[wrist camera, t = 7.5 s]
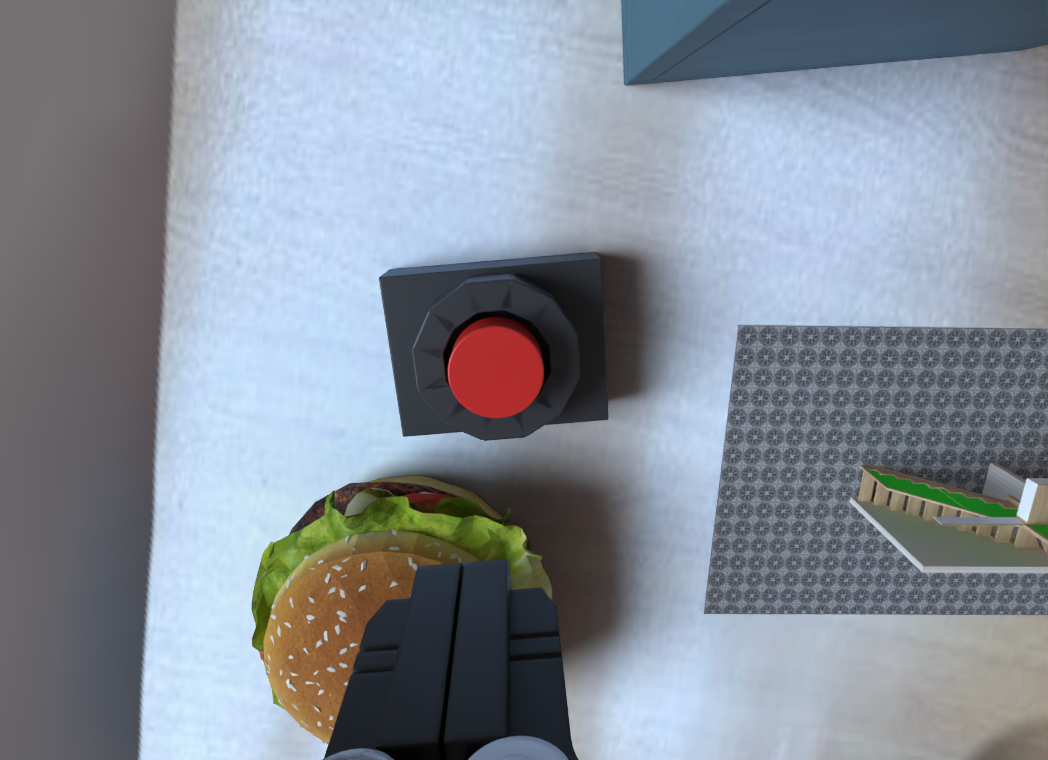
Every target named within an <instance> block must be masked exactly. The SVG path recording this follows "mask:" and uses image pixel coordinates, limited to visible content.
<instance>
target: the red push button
mask: <svg viewBox="0 0 1048 760" xmlns="http://www.w3.org/2000/svg"><path fill="white" fill-rule="evenodd" d="M448 380H449V384H450V387H451V390H452V392H453V394H454V395H455V397H456V398H457V400H458V401H459V402H460V403H461V404H462V405H463V406H464V407H465V408H467V409H468V410H470V411H471V412H473V413H475V414H478V415H480V416H484V417H488V418H504V417H509V416H513V415H515V414H517V413H519V412H521V411H523V410H524V409H526V408H527V407H528V406H529V405H530V404H531V403H532V402H533V401H534V400H535V399H536V397H537V396H538V394H539V392H540V390H541V388H542V384H543V380H544V365H543V358H542V352H541V348H540V345H539V343H538V341H537V339H536V338H535V336H534V335H533V333H532V332H531V331H530V330H529V329H528V328H527V327H525V326H524V325H523V324H521V323H519V322H517V321H515V320H513V319H510V318H506V317H488V318H484V319H480V320H478V321H476V322H474V323H472V324H471V325H469V326H468V327H467V328H466V329H465V330H464V331H463V332H462V333H461V334H460V336H459V337H458V339H457V340H456V342H455V345H454V348H453V350H452V353H451V356H450V359H449V363H448Z"/></svg>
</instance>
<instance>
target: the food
mask: <svg viewBox="0 0 1048 760" xmlns="http://www.w3.org/2000/svg"><path fill="white" fill-rule="evenodd" d="M510 513H511V509H508V510H507V512H506V514H505V517H504V518H503V517H502V516H501V515H500V514H498V513H497V512H496V511H495V510H494V509H493V508H492V507H490V506H489V505H488V504H487V503H486V502H485V501H483V500H482V499H481V498H480V497H478V496H477V495H476V494H475V493H473V492H472V491H469V490H466V489H463V488H460V487H457V486H454V485H451V484H448V483H444V482H441V481H438V480H434V479H431V478H428V477H425V476H403V477H390V478H379V479H376V480H374V481H371V482H367V483H350V484H348V485H346V486H344V487H342V488H340V489H339V490H337V491H335V492H334V491H333V492H332V493H331V494H329V495H327V496H326V497H324V498H322V499H320V500H318V501H316V502H315V503H314V504H313V505H312V507H311V508H310V509H309V510H308V511H307V512H306V513H305V515H304V516H303V517H302V518H301V519H300V520H299V521H298V523H297V524H296V525H295V526H294V527H293V528H292V530H291V532H290V534H289V535H288V536H287V537H285V538H283V539H281V540H279V541H277V542H275V543H274V542H271V543H270V544H269V546H268V547H267V549H266V550H265V551H264V553H263V556H262V559H261V563H260V567H259V570H258V574H257V578H256V582H255V586H254V591H253V599H252V613H253V616H254V620H255V623H256V629H255V632H254V635H253V637H252V646H253V647H254V648H256V649H257V650H258V651H259V652H260V656H261V659H262V660H263V661H264V665H265V669H266V673H267V675H268V678H269V682H270V685H271V688H272V693H273V700H274V701H273V703H274V704H276V705H279V706H280V707H282V708H283V709H285V710H286V711H287V712H288V713H289V714H290V715H291V717H292V718H293V719H295V720H296V721H297V722H298V723H299V724H300V725H301V726H302V727H303V728H304V729H306V730H307V731H309V732H310V733H312V734H313V736H314V735H315V736H316V737H318V738H319V739H321V740H322V741H324V742H325V743H327V744H329V741H330V738H331V735H332V732H333V729H334V726H335V722H336V719H337V716H338V713H339V710H340V707H341V703H342V700H343V697H344V694H345V691H346V688H347V685H348V681H349V678H350V675H351V674H352V673H353V670H352V669H353V666H354V662H355V659H356V656H357V653H359V647H360V643H361V640H362V637H363V634H364V631H365V628H366V625H367V622H368V621H369V620H370V619H371V618H372V616H373V615H374V614H375V613H376V612H377V611H378V609H379V608H380V607H381V606H382V605H383V604H384V603H385V601H386V600H394V599H406V598H410V596H411V592H412V587H413V583H414V579H415V574H416V570H417V568H418V566H426V565H438V564H451V563H462V564H463V566H464V564H465V562H473V561H485V560H498V559H508V561H509V567H510V577H511V587H512V590H515V589H527V588H540V587H542V589H543V590H544V591H545V593H546V594H547V595H548V596H549V598H550V599H551V600H552V585H551V583H550V580H549V578H548V576H547V574H546V572H545V571H544V569H543V567H542V563H541V559H542V557H543V556H541V555H537V554H535V553H533V552H531V551H530V543H529V541H528V540H527V538H526V536H525V534H524V532H523V530H522V528H520V527H518V526H516V525H514V526H510V523H509V521H508V516H509V515H510ZM552 602H553V601H552ZM322 741H321V742H322ZM324 742H323V743H324ZM325 743H324V744H325Z"/></svg>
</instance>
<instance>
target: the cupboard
mask: <svg viewBox="0 0 1048 760" xmlns="http://www.w3.org/2000/svg"><path fill="white" fill-rule="evenodd" d="M621 3H622V34H623V65H624V85H636V84H647V83H659V82H670V81H681V80H693V79H704V78H715V77H726V76H738V75H749V74H760V73H772V72H783V71H794V70H805V69H817V68H828V67H839V66H851V65H862V64H873V63H884V62H896V61H907V60H918V59H930V58H941V57H952V56H964V55H975V54H986V53H997V52H1009V51H1020V50H1026V49H1030V48H1034V47H1038V46H1042V45H1046V44H1048V0H621Z"/></svg>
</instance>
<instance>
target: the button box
mask: <svg viewBox="0 0 1048 760" xmlns="http://www.w3.org/2000/svg"><path fill="white" fill-rule="evenodd" d="M379 282H380V288H381V295H382V301H383V308H384V315H385V321H386V328H387V334H388V341H389V347H390V354H391V361H392V367H393V374H394V380H395V387H396V393H397V400H398V407H399V413H400V420H401V426H402V433H403V436H404V437H406V436H418V435H430V434H442V433H454V432H464V433H467V434H469V435H471V436H474V437H476V438H478V439H481V440H484V441H487V440H499V439H511V438H523V437H525V436H528V435H530V434H531V433H533V432H534V431H536V430H538V429H539V428H541V427H542V426H544V425H550V424H562V423H574V422H586V421H598V420H608V398H607V376H606V354H605V332H604V310H603V288H602V267H601V258H600V257H599V256H598V255H597V254H595V253H594V252H589V253H578V254H566V255H554V256H543V257H531V258H519V259H508V260H496V261H484V262H473V263H461V264H449V265H438V266H426V267H415V268H403V269H391V270H388V271H387V272H386V273H384V274H383V275H382V276H381V277H379ZM488 317H506V318H510V319H513V320H515V321H517V322H519V323H521V324H523V325H524V326H525V327H527V328H528V329H529V330H530V331H531V332H532V333H533V335H534V336H535V338H536V339H537V341H538V343H539V345H540V348H541V352H542V358H543V365H544V380H543V384H542V388H541V390H540V392H539V394H538V396H537V397H536V399H535V400H534V401H533V402H532V403H531V404H530V405H529V406H528V407H527V408H526V409H524V410H523V411H521V412H519V413H517V414H515V415H513V416H509V417H504V418H488V417H484V416H480V415H478V414H475V413H473V412H471V411H470V410H468V409H467V408H465V407H464V406H463V405H462V404H461V403H460V402H459V401H458V400H457V398H456V397H455V395H454V394H453V392H452V390H451V387H450V384H449V380H448V363H449V359H450V356H451V353H452V350H453V348H454V345H455V342H456V340H457V339H458V337H459V336H460V334H461V333H462V332H463V331H464V330H465V329H466V328H467V327H468V326H469V325H471V324H472V323H474V322H476V321H478V320H480V319H484V318H488Z"/></svg>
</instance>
